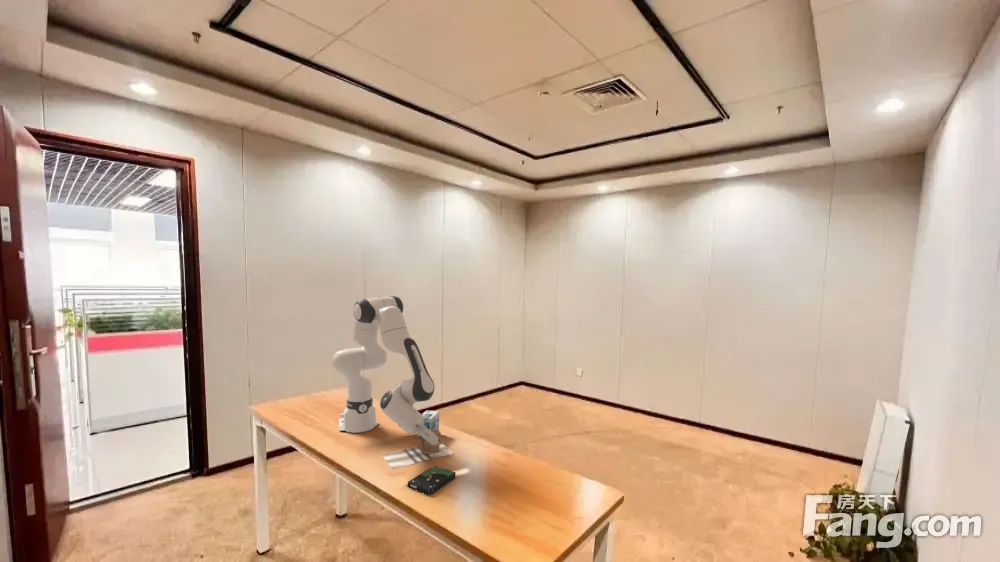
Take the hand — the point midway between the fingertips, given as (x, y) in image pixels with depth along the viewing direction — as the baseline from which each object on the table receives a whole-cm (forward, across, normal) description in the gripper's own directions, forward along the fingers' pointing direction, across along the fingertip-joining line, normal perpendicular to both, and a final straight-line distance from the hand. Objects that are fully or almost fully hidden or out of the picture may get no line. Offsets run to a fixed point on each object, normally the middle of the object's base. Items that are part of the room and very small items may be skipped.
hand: (434, 440), depth 169 cm
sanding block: (+1, 0, +4) cm, 4 cm away
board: (-1, 0, +9) cm, 9 cm away
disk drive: (-3, -21, +12) cm, 24 cm away
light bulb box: (+8, +17, +1) cm, 19 cm away
